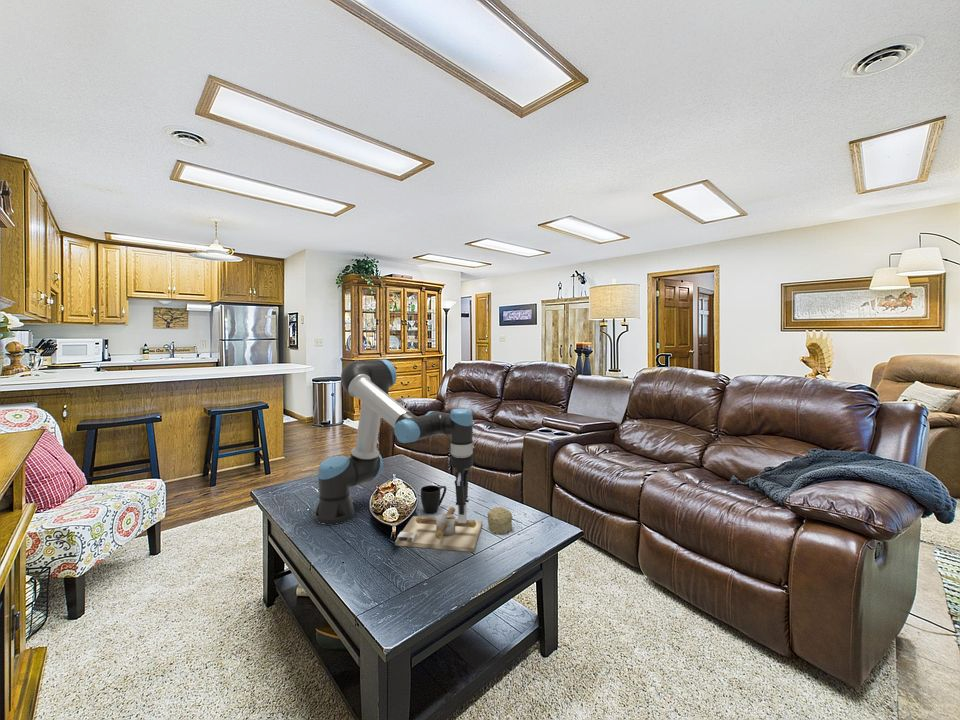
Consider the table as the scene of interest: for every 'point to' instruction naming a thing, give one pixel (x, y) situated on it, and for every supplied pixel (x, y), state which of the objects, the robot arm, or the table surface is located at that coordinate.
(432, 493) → the mug
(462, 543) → the stand
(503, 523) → the decorative object
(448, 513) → the capstan
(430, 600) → the table surface
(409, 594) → the table surface
